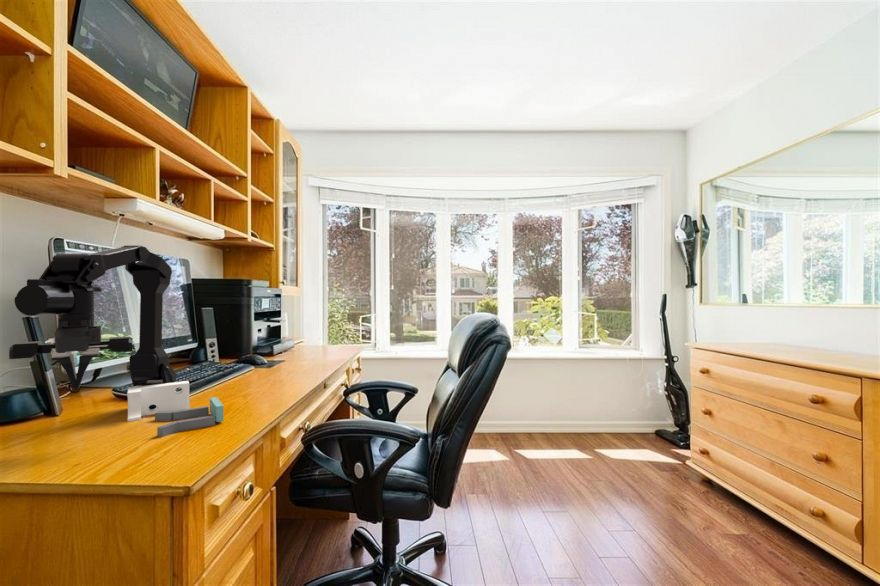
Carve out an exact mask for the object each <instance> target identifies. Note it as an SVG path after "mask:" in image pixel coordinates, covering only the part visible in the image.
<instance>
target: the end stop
mask: <svg viewBox="0 0 880 586" xmlns="http://www.w3.org/2000/svg"><path fill="white" fill-rule="evenodd" d="M209 414H210V415H214V416H215V423H219V422H224V404H223V403H222V402H221V401H220V400H219V398H218V397H217V396H215V397H209Z"/></svg>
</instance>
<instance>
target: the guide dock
mask: <svg viewBox="0 0 880 586" xmlns="http://www.w3.org/2000/svg"><path fill="white" fill-rule="evenodd" d="M154 421H155V422H157V421H161V422H162V421H164V422H165V421H166V422H168V421H169V423H165V424H163V425H159V426H157V428H156V431H157V432H156V434H157V436H156V437H161V438H164V437H166V436H169V435H171V434H175V433H178V432H183V431H184V432H185V431H189V430H194V429H201V428H205V427H211V426H212V427H213V426H216V421H215V416H214V415H212V414H210V406H208V405H205V406H197V407H191V408H190V409H184V410H178V411H159V412H156V413H155V414H154ZM171 421H172V422H171Z"/></svg>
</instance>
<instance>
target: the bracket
mask: <svg viewBox="0 0 880 586" xmlns="http://www.w3.org/2000/svg"><path fill="white" fill-rule="evenodd" d="M178 388H180V390H179V391H176V390H177V389H178ZM126 394H127V422H135V421H142V416H149V415H155V413H156V412H159V411H178V410H184V409H191V408H190V382H189V380H183V381H176V382H173V383H165V384H156V385H147V386H129V387H128V388H127V392H126ZM150 405H156V408H155V409H149V406H150Z"/></svg>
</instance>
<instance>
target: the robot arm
mask: <svg viewBox="0 0 880 586" xmlns="http://www.w3.org/2000/svg"><path fill="white" fill-rule="evenodd" d="M51 259H52V260H51V261H50V263H49V264H48V265H47V267H46V268H45V270H44V271H43V272H42V274H41V275H40V277H39V279H38V278H36V279H35V278H30V279H27V280H26V285H25V286H24V287H22V288H21V289H19V291H18V292H17V294H16V296H15V297H14V305H15V307H16V309H17V310H18V312H19V313H21V314H23V315H25V316H31V317H34V316H51V315H57V328H56V329H55V332H54V343H48V344H47V343H45V344H43V340H38V341H20V342H16V343H13V344H12V345H11V346H10V347H9V349H8V359H9V360H18V359H32V358H34V357H35V356H37V355H39V354H50V355H51V356H50V361H57V362H58V363H59V364H60V365H61V367H62V368H63V369H64V370H63V371H65V373H66V375H67V377H68V379H69V382H70V383H71V386H72V388H73V390H75V389H80V386H81V384H82V381H83V379H84V376H85V373H86V371H87V369H88V367H89V365H90V363H91V361H92V360H93V358H99V356H100V354H101V352H100V351H101V350H111V351H112V352H113V353H117V352H118V353H119V352H130V351H133V338H132V337H131V336H115V337H114V336H113V337H112V336H111V337H110V338H109V340H102V326H101V325H95V293H101V292H102V288H101V287H100V286H98V285H97V284H95V282H94V281H95V280H98V279H100V278H102V277H103V276H105V274H106V272H107V271H109V270H112V269H115V268H118V267H122V266H124V268H125V271H126V272H128V273H129V274H130V275H131V276H132V283H133V285H134V287H135V288H136V290H137V291H138V292H139V294H140V295H139V298H140V300H139V301H140V302H139V342H138V344H139V345H138V349H137V350H136V352H135V353H134V354H131V355H130V356H129V366H128V367H129V368H128V371H129V375H130V380H131V383H132V387H138V386H147V385H156V384H165V383H173V382H177V381H176V380H177V376H178V375H177V374H178V373H176V371H175V370H174V368H173V367H172V366H171V364H170V358H169V355H168V354H167V351H165V349H164V348H163V343H162V342H163V340H162V339H163V299H164V298H163V295H164V293H165V292H166V290H168V288H169V286H170V284H171V277H172V271H173V270H172V268H171V266H170V264H168V262H167V261H166V260H165V258H162V257H161V256H159V255H157V254H155V253H153V252H151V251H150V250H149V249H148V248H147V247H146V246H143V245H123V246H120V247H116V248H112V249H107V250H102V251H98V252H93V253H58V254H55V255H53V256H52V258H51ZM72 352H78V353H81V354H80V356H78V357H79V359H78V361H79V362H78V367H77V370H76V366H75V365H76V362H75V357H74V353H72ZM155 408H156V405H150V406H149V409H155Z"/></svg>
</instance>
